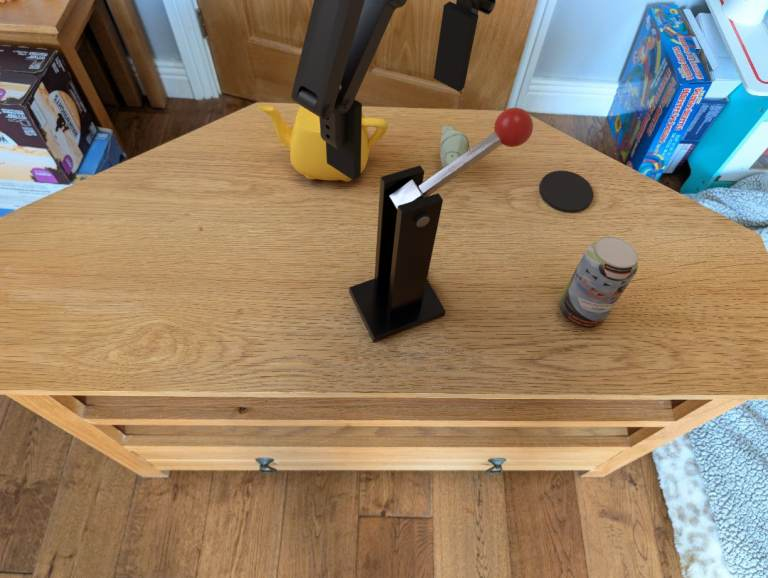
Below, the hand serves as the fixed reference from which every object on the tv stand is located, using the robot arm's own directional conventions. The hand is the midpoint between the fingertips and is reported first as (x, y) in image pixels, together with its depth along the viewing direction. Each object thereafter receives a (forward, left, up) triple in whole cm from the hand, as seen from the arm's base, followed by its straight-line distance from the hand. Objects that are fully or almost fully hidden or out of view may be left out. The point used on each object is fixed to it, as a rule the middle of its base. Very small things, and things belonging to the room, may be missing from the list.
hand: (399, 123), depth 45 cm
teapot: (+28, -3, -31) cm, 42 cm away
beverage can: (-9, -24, -31) cm, 41 cm away
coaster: (+9, -34, -31) cm, 47 cm away
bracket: (+1, -2, -31) cm, 31 cm away
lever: (+1, -9, -10) cm, 13 cm away
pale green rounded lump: (+20, -20, -31) cm, 43 cm away
